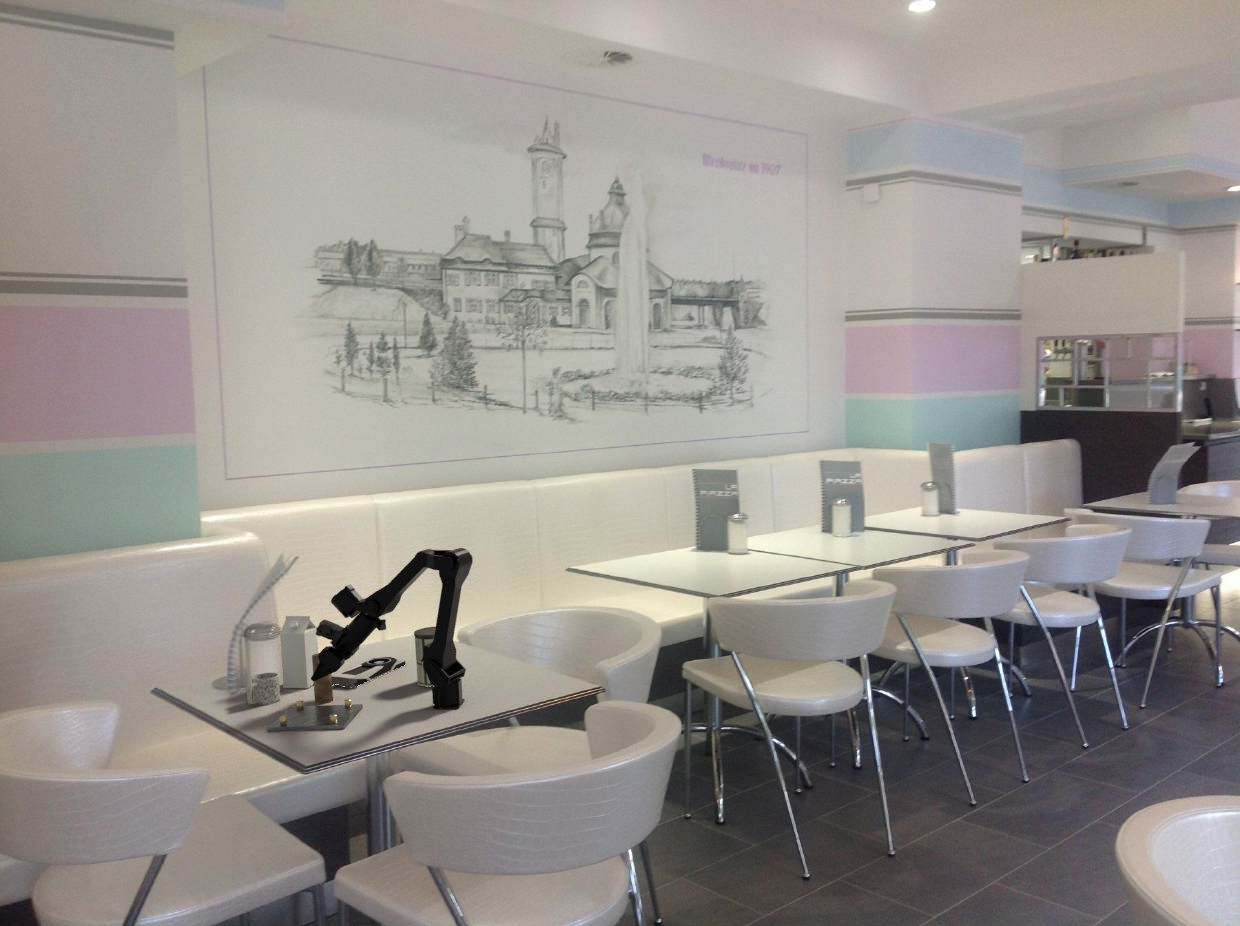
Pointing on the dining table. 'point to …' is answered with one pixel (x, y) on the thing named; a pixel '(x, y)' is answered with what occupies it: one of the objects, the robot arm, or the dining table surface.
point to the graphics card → (367, 671)
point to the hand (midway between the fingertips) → (317, 675)
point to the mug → (264, 689)
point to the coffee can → (422, 639)
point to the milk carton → (298, 651)
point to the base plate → (316, 717)
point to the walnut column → (322, 685)
